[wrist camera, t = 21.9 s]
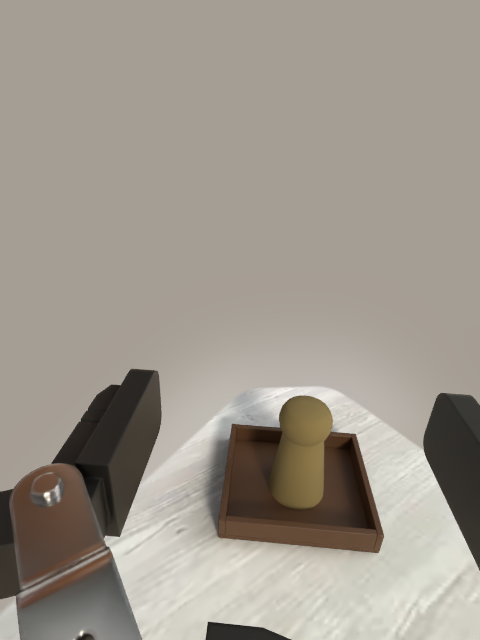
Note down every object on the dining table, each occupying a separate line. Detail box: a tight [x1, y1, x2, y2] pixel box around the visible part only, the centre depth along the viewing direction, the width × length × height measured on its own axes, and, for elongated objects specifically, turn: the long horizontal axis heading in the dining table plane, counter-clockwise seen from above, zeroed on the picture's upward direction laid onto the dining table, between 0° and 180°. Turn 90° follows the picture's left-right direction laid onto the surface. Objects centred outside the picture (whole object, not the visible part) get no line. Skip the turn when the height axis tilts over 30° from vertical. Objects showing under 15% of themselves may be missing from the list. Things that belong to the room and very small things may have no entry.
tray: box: [219, 424, 384, 553], centre depth 42 cm, size 15×13×2 cm
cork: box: [268, 396, 333, 510], centre depth 39 cm, size 6×6×11 cm
